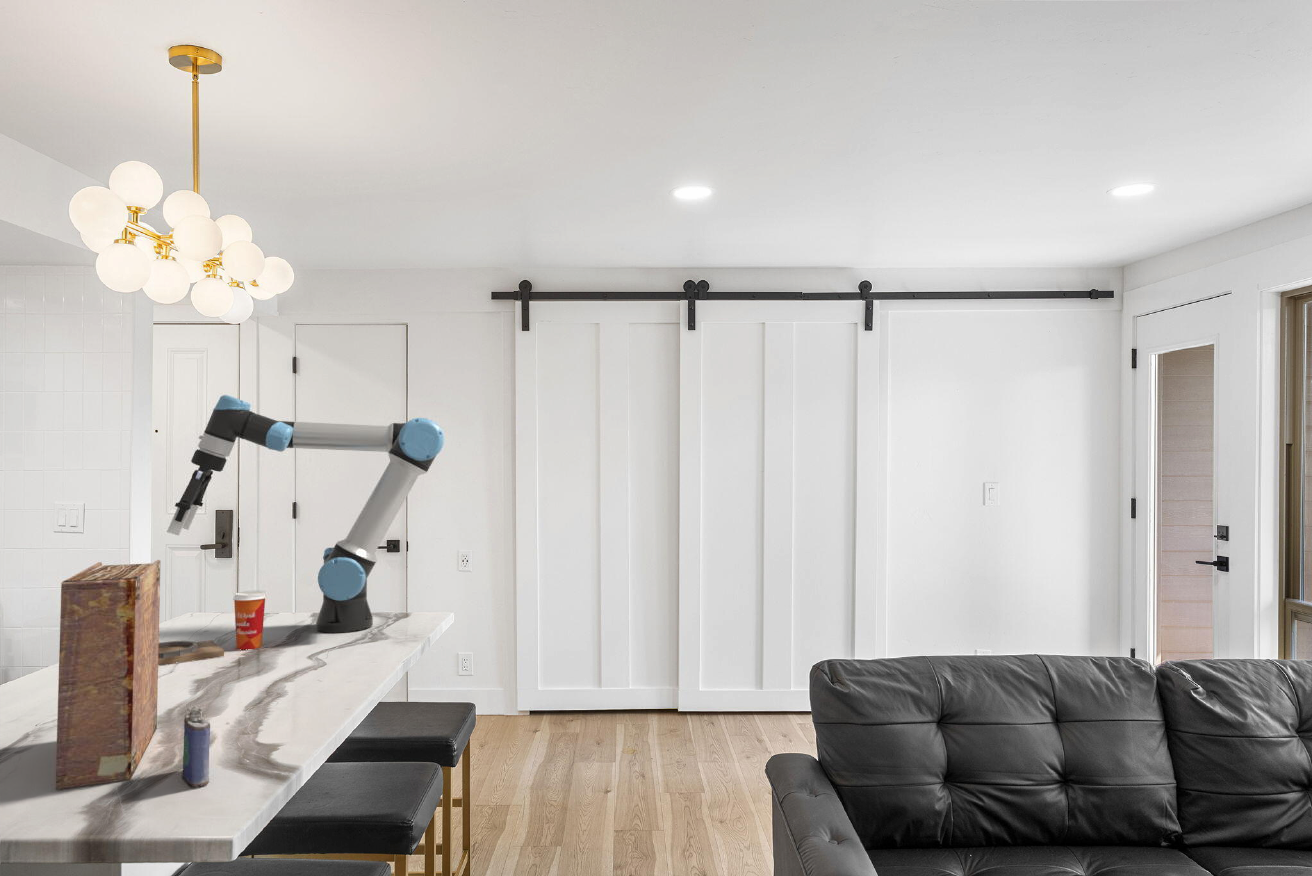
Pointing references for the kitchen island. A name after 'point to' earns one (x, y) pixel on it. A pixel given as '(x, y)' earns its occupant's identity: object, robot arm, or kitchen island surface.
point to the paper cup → (249, 619)
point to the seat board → (187, 651)
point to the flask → (196, 748)
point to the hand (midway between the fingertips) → (177, 530)
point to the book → (107, 672)
